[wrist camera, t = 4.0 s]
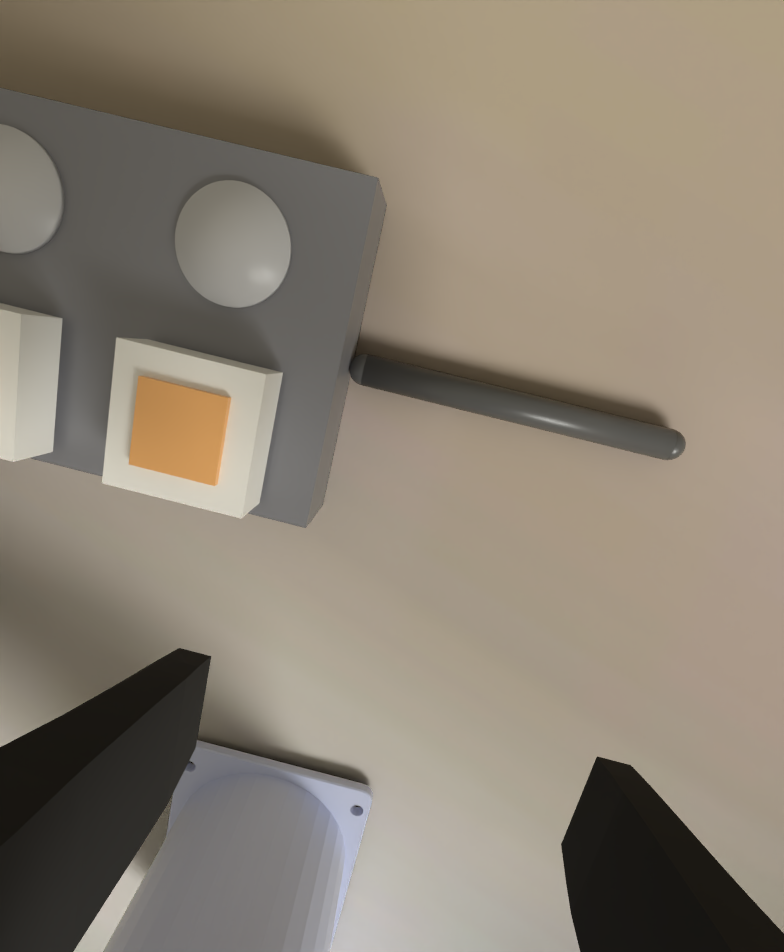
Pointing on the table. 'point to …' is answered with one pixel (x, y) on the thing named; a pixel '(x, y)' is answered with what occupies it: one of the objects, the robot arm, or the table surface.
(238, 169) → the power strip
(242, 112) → the table surface
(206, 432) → the button
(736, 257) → the table surface
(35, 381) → the button
